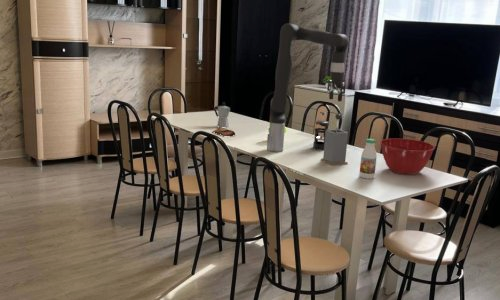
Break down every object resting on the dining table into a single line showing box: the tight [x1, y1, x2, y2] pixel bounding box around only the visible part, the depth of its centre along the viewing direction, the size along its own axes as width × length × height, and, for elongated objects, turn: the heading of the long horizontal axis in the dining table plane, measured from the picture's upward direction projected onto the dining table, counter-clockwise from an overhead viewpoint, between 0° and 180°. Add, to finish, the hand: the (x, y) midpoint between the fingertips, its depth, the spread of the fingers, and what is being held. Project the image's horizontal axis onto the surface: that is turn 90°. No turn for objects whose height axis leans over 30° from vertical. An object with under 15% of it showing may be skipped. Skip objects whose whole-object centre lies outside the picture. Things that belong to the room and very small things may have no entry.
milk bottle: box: [358, 138, 378, 180], centre depth 263 cm, size 8×8×20 cm
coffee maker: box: [213, 102, 232, 128], centre depth 374 cm, size 15×9×18 cm, turn 58°
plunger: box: [335, 113, 342, 133], centre depth 287 cm, size 7×7×14 cm
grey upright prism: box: [320, 128, 349, 166], centre depth 290 cm, size 11×11×18 cm
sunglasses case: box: [212, 127, 236, 137], centre depth 351 cm, size 18×7×7 cm, turn 37°
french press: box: [312, 111, 331, 151], centre depth 323 cm, size 12×9×23 cm
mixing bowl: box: [380, 138, 436, 175], centre depth 279 cm, size 28×28×16 cm
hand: (335, 100), depth 287 cm, fingers open, 8 cm apart
